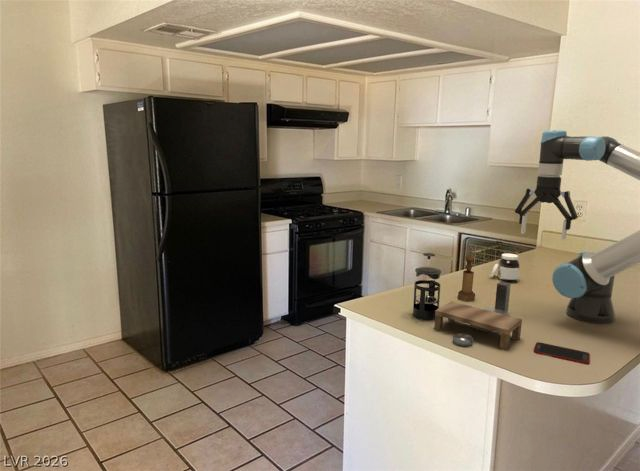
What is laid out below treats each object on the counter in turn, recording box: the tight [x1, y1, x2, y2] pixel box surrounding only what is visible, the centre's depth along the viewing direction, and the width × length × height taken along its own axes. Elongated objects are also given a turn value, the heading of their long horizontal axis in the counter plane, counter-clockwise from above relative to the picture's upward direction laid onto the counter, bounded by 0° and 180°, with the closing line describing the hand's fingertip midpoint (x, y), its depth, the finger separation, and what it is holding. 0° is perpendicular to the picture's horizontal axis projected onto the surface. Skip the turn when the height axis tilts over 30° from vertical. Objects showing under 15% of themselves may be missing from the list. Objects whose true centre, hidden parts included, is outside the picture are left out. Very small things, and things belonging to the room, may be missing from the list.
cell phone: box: [533, 341, 591, 366], centre depth 140 cm, size 8×15×1 cm, turn 59°
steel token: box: [452, 333, 474, 348], centre depth 147 cm, size 6×6×2 cm
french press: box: [411, 252, 442, 322], centre depth 167 cm, size 12×9×23 cm
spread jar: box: [489, 253, 521, 284], centre depth 212 cm, size 12×11×12 cm
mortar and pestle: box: [457, 254, 476, 302], centre depth 185 cm, size 7×6×18 cm
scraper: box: [469, 281, 512, 334], centre depth 163 cm, size 8×19×12 cm, turn 139°
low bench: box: [433, 300, 523, 351], centre depth 153 cm, size 24×12×6 cm, turn 49°
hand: (542, 236), depth 167 cm, fingers open, 13 cm apart
